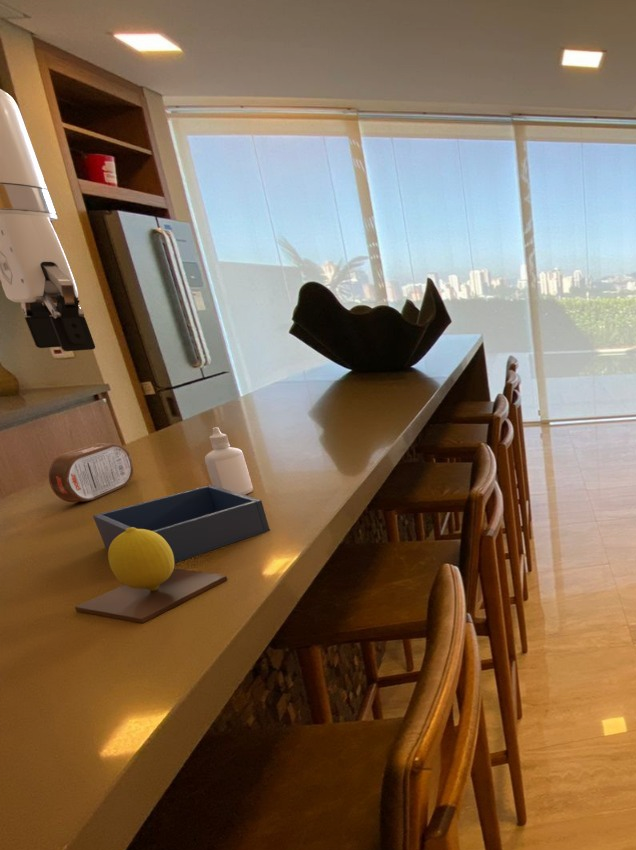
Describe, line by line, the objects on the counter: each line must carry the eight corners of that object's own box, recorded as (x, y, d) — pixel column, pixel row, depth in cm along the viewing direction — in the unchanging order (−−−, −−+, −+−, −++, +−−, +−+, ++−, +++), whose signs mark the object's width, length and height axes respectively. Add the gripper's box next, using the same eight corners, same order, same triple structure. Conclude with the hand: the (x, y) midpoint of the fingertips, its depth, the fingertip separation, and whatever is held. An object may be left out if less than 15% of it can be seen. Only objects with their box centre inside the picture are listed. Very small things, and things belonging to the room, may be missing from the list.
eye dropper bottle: (257, 494, 99) (237, 426, 94) (218, 502, 95) (196, 432, 91) (251, 488, 102) (232, 422, 97) (214, 496, 98) (192, 428, 94)
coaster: (142, 623, 61) (140, 618, 60) (76, 611, 63) (74, 606, 63) (227, 579, 70) (226, 575, 69) (166, 570, 72) (164, 566, 72)
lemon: (173, 574, 70) (151, 514, 67) (190, 587, 67) (168, 525, 64) (116, 593, 66) (90, 530, 63) (132, 607, 63) (105, 542, 60)
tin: (125, 480, 107) (109, 437, 104) (143, 480, 107) (127, 436, 104) (58, 509, 93) (37, 460, 90) (79, 508, 93) (58, 459, 90)
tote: (153, 570, 72) (140, 536, 70) (105, 547, 79) (92, 515, 77) (270, 530, 84) (261, 500, 82) (219, 512, 91) (210, 484, 89)
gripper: (-53, 207, 71) (6, 348, 77) (-11, 194, 62) (51, 354, 69) (29, 212, 76) (78, 343, 83) (77, 202, 68) (127, 348, 75)
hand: (65, 348), depth 76 cm, fingers open, 9 cm apart
